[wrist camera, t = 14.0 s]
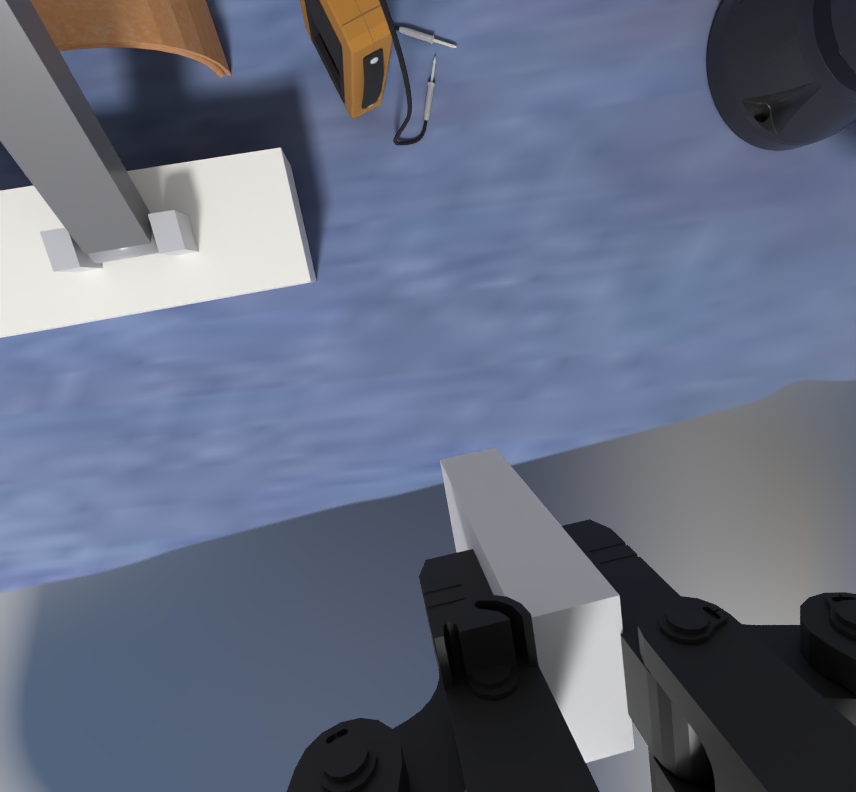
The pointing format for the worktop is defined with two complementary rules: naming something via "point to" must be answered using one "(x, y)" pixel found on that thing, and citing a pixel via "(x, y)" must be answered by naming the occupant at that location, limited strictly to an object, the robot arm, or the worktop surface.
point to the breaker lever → (65, 143)
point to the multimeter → (362, 52)
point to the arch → (135, 27)
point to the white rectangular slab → (158, 245)
